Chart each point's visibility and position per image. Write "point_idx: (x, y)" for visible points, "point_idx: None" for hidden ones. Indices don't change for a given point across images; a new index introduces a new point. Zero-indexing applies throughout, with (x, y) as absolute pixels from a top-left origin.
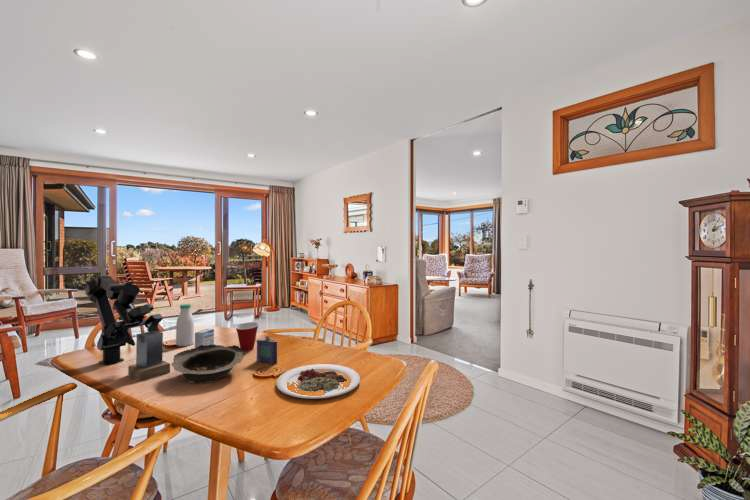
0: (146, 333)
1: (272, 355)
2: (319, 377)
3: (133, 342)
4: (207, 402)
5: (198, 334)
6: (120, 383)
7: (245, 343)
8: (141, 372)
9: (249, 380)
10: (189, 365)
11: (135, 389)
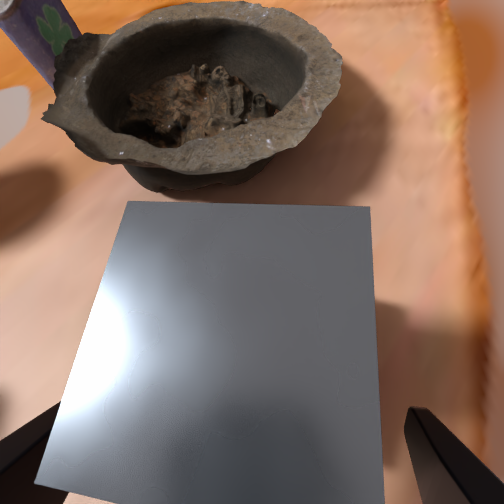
0: (245, 388)
1: (76, 26)
2: None
3: (441, 431)
4: (361, 18)
5: None
6: (420, 376)
7: None
8: None
9: None
10: (199, 186)
11: (418, 242)
